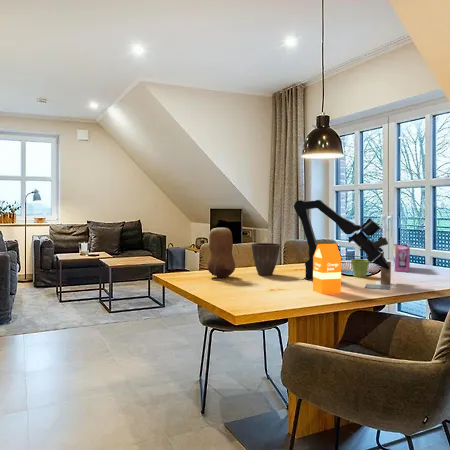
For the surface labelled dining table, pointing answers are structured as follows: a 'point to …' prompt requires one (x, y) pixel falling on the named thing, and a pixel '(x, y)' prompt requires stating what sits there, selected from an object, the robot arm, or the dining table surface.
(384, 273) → the block
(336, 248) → the orange juice
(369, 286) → the coaster
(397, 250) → the gum box
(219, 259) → the butternut squash
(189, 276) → the dining table surface
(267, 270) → the plant pot
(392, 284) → the tile
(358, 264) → the plant pot
